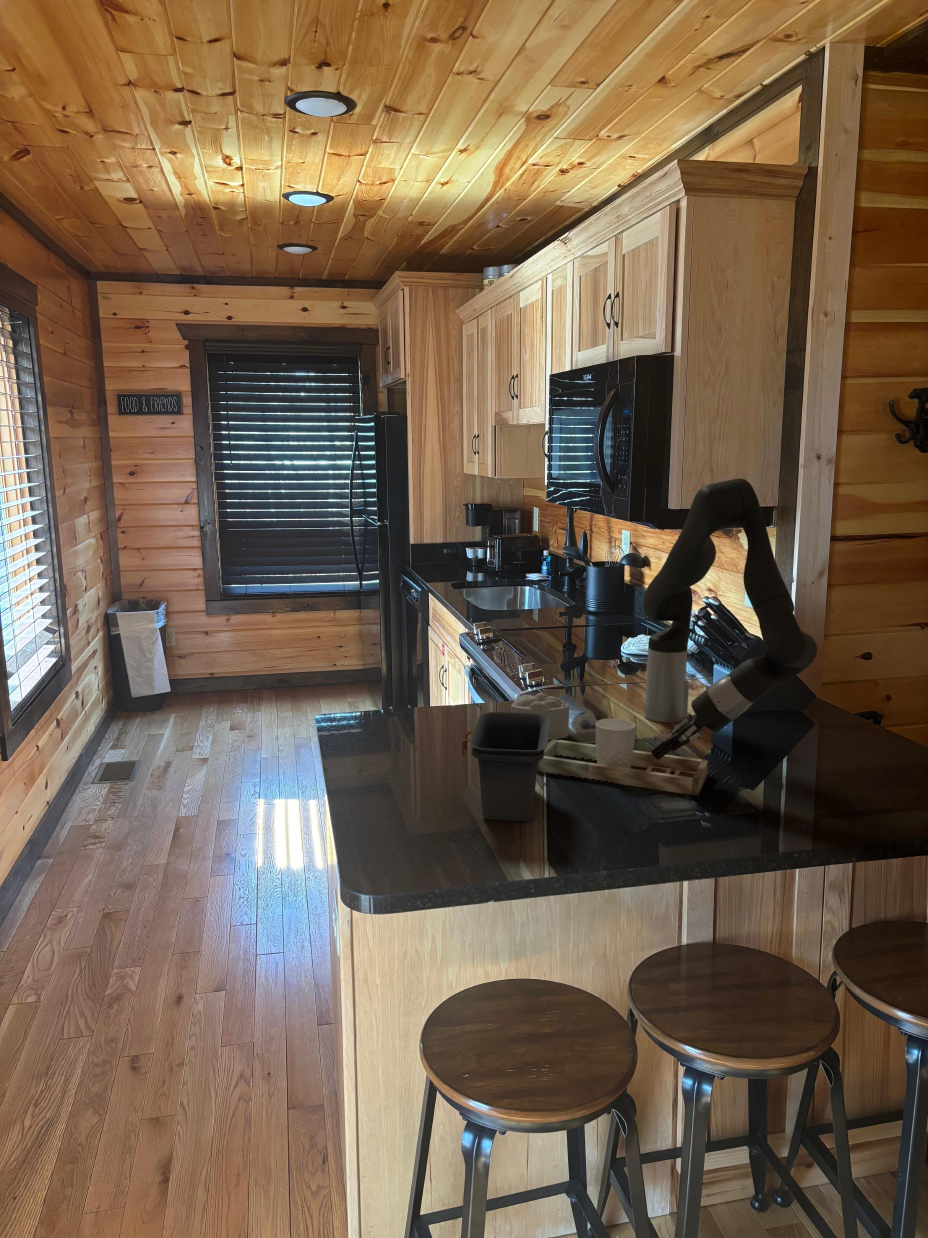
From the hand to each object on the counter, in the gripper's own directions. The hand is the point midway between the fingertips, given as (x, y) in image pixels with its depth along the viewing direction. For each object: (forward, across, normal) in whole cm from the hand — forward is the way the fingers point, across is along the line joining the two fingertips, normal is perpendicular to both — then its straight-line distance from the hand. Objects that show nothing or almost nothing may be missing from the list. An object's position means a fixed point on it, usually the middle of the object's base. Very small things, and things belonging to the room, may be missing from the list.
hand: (654, 755), depth 176 cm
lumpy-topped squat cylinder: (+24, -18, -17) cm, 35 cm away
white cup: (+9, 0, -2) cm, 9 cm away
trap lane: (+8, 0, -1) cm, 8 cm away
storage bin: (+19, +25, -12) cm, 34 cm away
